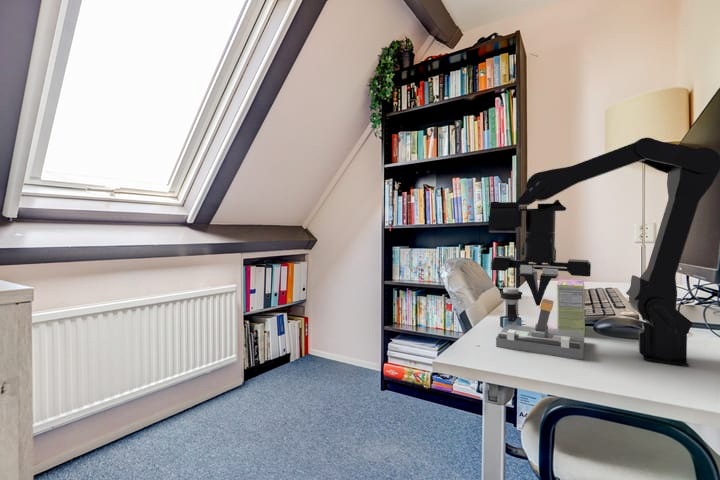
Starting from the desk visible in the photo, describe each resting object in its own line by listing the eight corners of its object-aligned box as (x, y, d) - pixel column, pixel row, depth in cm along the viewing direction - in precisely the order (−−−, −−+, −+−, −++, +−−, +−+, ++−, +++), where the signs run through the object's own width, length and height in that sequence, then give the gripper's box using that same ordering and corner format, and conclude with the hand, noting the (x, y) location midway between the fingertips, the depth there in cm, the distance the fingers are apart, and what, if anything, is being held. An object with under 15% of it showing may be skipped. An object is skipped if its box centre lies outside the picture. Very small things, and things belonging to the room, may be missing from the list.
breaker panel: (584, 342, 81) (584, 325, 80) (582, 360, 70) (582, 340, 70) (507, 332, 89) (507, 316, 89) (495, 347, 79) (495, 329, 79)
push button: (519, 323, 97) (519, 286, 96) (531, 329, 91) (531, 289, 91) (496, 325, 96) (495, 287, 95) (506, 330, 90) (506, 290, 90)
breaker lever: (546, 332, 80) (553, 301, 79) (544, 337, 77) (552, 304, 76) (536, 329, 81) (543, 298, 80) (534, 333, 78) (541, 301, 77)
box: (558, 323, 96) (558, 278, 96) (584, 326, 93) (584, 280, 93) (556, 334, 87) (556, 284, 87) (584, 337, 84) (584, 286, 84)
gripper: (591, 232, 80) (589, 303, 81) (501, 231, 90) (500, 294, 91) (591, 234, 70) (589, 314, 71) (491, 232, 80) (489, 303, 81)
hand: (538, 305), depth 79 cm, fingers closed
